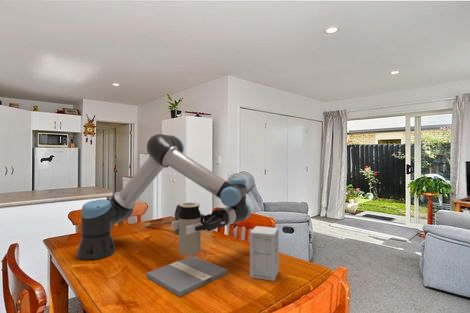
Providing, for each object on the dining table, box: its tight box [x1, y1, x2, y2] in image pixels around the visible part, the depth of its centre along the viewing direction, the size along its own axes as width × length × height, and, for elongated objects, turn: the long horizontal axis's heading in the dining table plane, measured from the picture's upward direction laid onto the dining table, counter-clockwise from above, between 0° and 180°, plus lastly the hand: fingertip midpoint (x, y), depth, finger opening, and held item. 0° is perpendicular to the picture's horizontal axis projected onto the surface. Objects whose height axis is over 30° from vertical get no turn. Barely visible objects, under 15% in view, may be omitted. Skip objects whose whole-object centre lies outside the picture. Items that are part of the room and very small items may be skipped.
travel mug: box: [178, 202, 202, 257], centre depth 98 cm, size 8×8×18 cm
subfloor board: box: [145, 255, 228, 297], centre depth 98 cm, size 20×22×2 cm
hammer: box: [144, 204, 181, 235], centre depth 155 cm, size 6×16×30 cm
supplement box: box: [249, 225, 280, 282], centre depth 99 cm, size 10×9×17 cm
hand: (179, 228), depth 95 cm, fingers closed on travel mug, 8 cm apart
